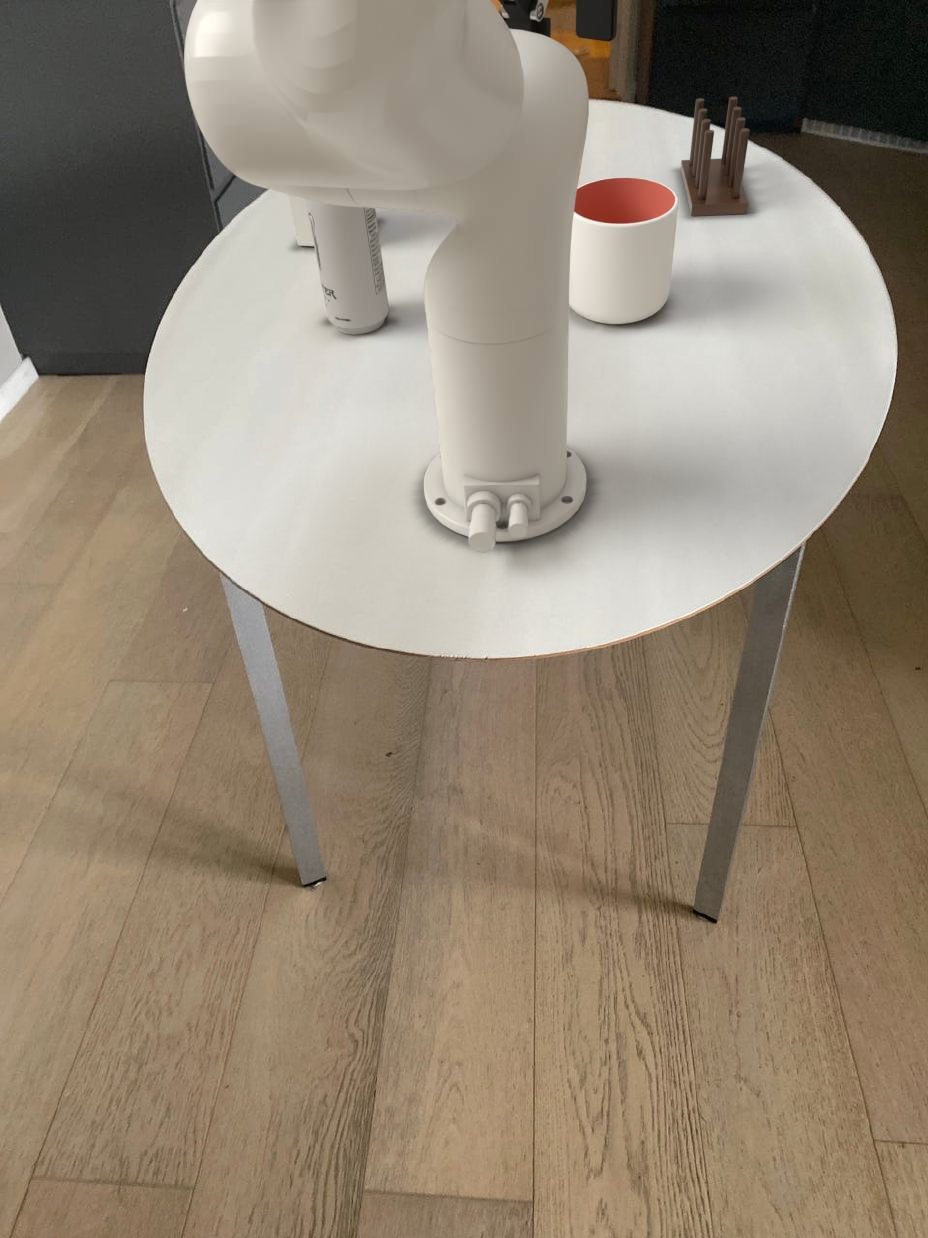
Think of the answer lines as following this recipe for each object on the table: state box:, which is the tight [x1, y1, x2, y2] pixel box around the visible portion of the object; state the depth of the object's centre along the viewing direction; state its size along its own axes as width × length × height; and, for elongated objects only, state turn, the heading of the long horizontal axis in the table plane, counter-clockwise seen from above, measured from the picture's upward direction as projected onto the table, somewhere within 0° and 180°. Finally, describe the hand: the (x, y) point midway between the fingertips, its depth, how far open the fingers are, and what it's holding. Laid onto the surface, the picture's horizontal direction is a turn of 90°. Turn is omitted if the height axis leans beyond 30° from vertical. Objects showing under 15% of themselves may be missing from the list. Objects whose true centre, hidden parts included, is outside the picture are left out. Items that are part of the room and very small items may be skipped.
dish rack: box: [680, 96, 750, 217], centre depth 105 cm, size 12×6×8 cm, turn 177°
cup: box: [569, 176, 680, 325], centre depth 89 cm, size 10×10×10 cm
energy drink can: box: [305, 199, 390, 335], centre depth 88 cm, size 6×6×15 cm
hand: (563, 58), depth 70 cm, fingers open, 9 cm apart
